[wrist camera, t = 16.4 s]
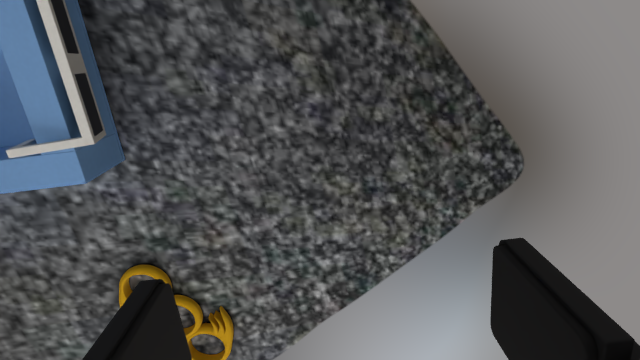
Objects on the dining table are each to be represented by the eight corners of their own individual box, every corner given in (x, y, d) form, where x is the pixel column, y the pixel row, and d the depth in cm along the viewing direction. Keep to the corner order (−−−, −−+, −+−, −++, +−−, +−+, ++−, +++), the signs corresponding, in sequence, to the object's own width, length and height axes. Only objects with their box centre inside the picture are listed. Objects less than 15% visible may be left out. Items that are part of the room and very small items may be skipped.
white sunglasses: (59, -18, 32) (39, -29, 28) (107, 134, 36) (95, 144, 32) (-30, -12, 31) (-65, -22, 27) (31, 147, 35) (8, 158, 31)
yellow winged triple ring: (196, 373, 50) (254, 335, 49) (193, 383, 49) (252, 344, 47) (101, 288, 46) (161, 243, 44) (94, 296, 45) (155, 250, 43)
